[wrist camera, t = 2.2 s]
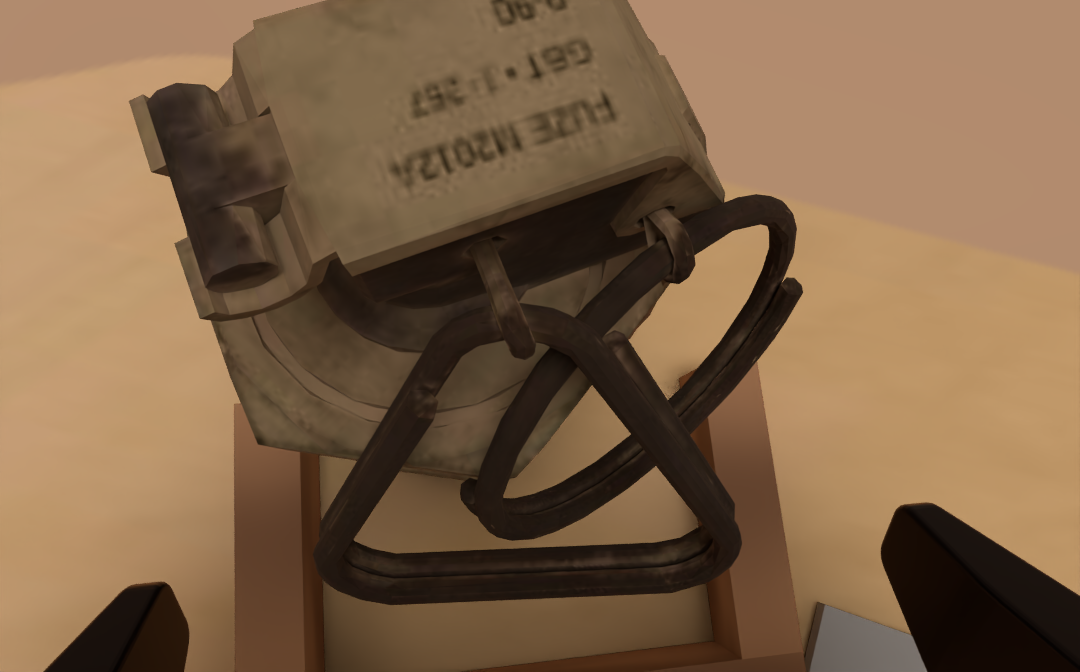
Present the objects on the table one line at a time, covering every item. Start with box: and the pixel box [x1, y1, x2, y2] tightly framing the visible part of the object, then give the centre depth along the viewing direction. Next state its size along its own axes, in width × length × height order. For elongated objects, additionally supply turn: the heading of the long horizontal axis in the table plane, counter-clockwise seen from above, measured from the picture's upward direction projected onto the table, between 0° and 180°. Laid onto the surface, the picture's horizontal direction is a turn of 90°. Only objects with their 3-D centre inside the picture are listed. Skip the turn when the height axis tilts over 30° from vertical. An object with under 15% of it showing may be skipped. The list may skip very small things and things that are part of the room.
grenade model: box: [129, 0, 803, 605], centre depth 12 cm, size 6×7×15 cm
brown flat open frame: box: [234, 362, 806, 672], centre depth 17 cm, size 8×13×2 cm, turn 95°
